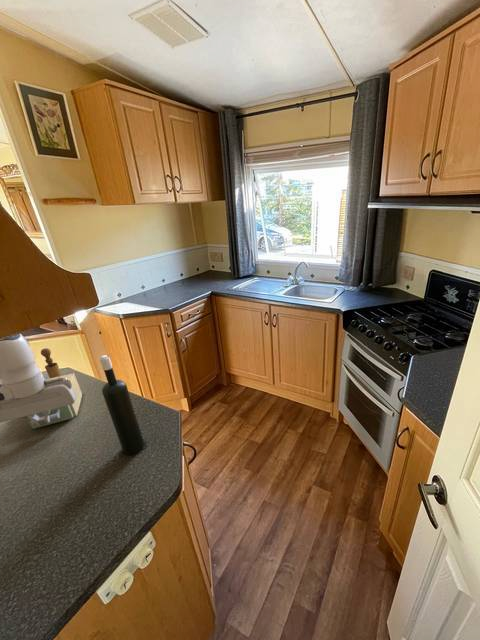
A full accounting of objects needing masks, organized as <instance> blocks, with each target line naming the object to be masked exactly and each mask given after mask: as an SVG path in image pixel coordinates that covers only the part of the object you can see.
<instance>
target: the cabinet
mask: <svg viewBox="0 0 480 640" xmlns="http://www.w3.org/2000/svg"><path fill="white" fill-rule="evenodd" d="M59 377H63V378H67V379H69V380H70V382H71V385H72V389H73V391H74V392H75V394H76V400H75V402H74V404H72V405H70V408H71V410H72V413H73V418H75V417H78V415H79V414H78V413H79V411H80V410H79V409H80V405H81V401H82V397H83V393H82V390H81V387H80V384H79V381H78V380H77V377H76V375H75V373H74V372H72V373H69V374H64V375H62V376H59ZM59 377H54V378H50V377H49V378H46V379H45V378H44V379H45V380H50V379H56V378H59ZM63 380H65V379H63Z"/></svg>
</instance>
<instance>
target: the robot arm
mask: <svg viewBox="0 0 480 640" xmlns="http://www.w3.org/2000/svg"><path fill="white" fill-rule="evenodd" d="M30 345H31V344H30V343H29V341H28V339H27V338H26V337H25V336H23V335H22V334H21V333H20V334H17V335H15V336H12V337H8V338H5V339H3V340H0V381H1V382H0V423H4V422H9V421H12V420H17V419H20V418H24V417H26V416H28V418H29V419H31V420H33V421H36V423H37V425H42V424H45V423H49V422H50V418H49V413H50V410H53V409H57V408H61V407H65V406H69V405H72V404H74V402H75V400H76V394H75V392H74V391H73V389H72V385H71V382H70V380H69V379H67V378H63V377H59V378H56V379H50V378H49V379H50V380H45V377H44V375H43V372H42V369H41V368H40V367H39V366H38V365H37V363H36V357H35V354H34V351H33V350H32V348H31V346H30ZM63 379H65V380H63ZM41 412H43V414H46V416H43V417H38V416H37V415H35V414H37V413H41Z"/></svg>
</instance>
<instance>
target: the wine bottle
mask: <svg viewBox="0 0 480 640" xmlns="http://www.w3.org/2000/svg"><path fill="white" fill-rule="evenodd" d="M98 359H99V361H100V365H101V367H102V370H103V373H104V375H105V378H106V382H107V383H105V384H104V385H103V386H102V389H101V393H102V395H103V398H104V402H105V404H106V407H107V410H108V412H109V415H110V418H111V421H112V424H113V426H114V429H115V432H116V435H117V438H118V441H119V444H120V447H121V450H122V452H123V454H124V455H126V456H133V455H136V454H138V453H140V452H141V451H142V450H143V449H144V447H145V440H144V438H143V434H142V431H141V428H140V425H139V421H138V418H137V415H136V412H135V408H134V405H133V402H132V399H131V395H130V391H129V388H128V386H127V384H126V382H125V381H124V380H122V379H117V378H116V374H115V371H114V369H113V368H114V367H113V364H112V361H111V357H110V355H109V354H108V355H107V354H103V355H102V356H100V357H98Z"/></svg>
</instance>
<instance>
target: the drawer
mask: <svg viewBox="0 0 480 640" xmlns="http://www.w3.org/2000/svg"><path fill="white" fill-rule="evenodd" d="M35 415H37V416H38V417H43V416H46V414H43V412H41V413H37V414H35ZM25 417H26V420H27V421H28V423H29V424H30V427H31V429H33V430H34V429H37V428H41V427H45V426H48V425H53V424H57V423H61V422H63V421H67V420H71V419H74V417H73V413H72V410H71V408H70V405H69V406H65V407H61V408H57V409H53V410H50V413H49V418H50V422H49V423H45V424H42V425H37V423H36V421H33V420H31V419H29V418H28V416H25Z"/></svg>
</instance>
